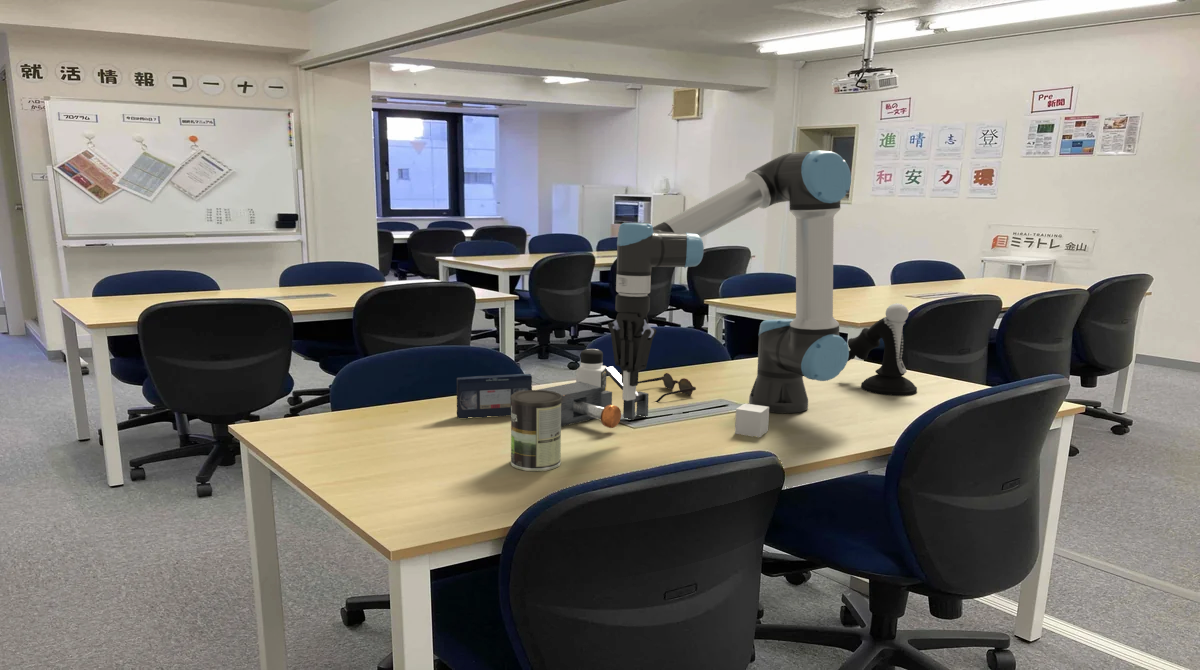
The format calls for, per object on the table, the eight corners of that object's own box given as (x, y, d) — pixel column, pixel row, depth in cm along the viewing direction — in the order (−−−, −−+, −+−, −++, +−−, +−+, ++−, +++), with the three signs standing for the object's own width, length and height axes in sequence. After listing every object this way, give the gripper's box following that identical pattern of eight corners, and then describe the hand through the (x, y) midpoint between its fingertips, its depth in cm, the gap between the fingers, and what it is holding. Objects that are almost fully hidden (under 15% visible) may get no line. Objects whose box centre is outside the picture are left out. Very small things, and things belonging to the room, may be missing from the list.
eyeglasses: (695, 398, 223) (696, 380, 222) (652, 405, 215) (653, 387, 214) (662, 387, 235) (662, 370, 234) (620, 393, 227) (620, 376, 226)
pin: (620, 425, 190) (621, 404, 189) (604, 430, 186) (605, 407, 185) (582, 414, 199) (582, 393, 198) (566, 417, 196) (566, 396, 195)
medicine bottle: (601, 396, 221) (602, 353, 219) (575, 395, 223) (576, 351, 221) (606, 390, 228) (607, 348, 226) (581, 389, 230) (581, 347, 228)
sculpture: (901, 398, 225) (909, 308, 220) (824, 383, 241) (830, 299, 237) (925, 389, 235) (933, 303, 231) (850, 376, 252) (855, 295, 248)
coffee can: (509, 472, 160) (509, 402, 158) (511, 455, 170) (510, 389, 168) (562, 471, 161) (563, 402, 159) (560, 455, 171) (561, 389, 169)
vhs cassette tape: (457, 419, 197) (457, 379, 196) (456, 416, 200) (455, 376, 198) (532, 415, 202) (532, 375, 200) (530, 412, 205) (530, 373, 203)
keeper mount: (647, 417, 202) (648, 393, 200) (631, 421, 198) (632, 397, 197) (610, 406, 211) (610, 383, 210) (594, 410, 207) (594, 386, 206)
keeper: (641, 402, 201) (644, 396, 200) (632, 404, 199) (635, 398, 198) (611, 370, 208) (614, 364, 207) (602, 372, 205) (605, 366, 204)
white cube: (760, 438, 186) (761, 412, 185) (734, 434, 189) (736, 408, 188) (767, 431, 191) (769, 406, 190) (743, 427, 194) (744, 403, 193)
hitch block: (601, 417, 201) (601, 387, 200) (557, 427, 192) (557, 396, 190) (579, 410, 207) (579, 381, 205) (536, 420, 197) (536, 389, 196)
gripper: (600, 292, 181) (596, 395, 185) (642, 298, 171) (638, 407, 175) (624, 290, 186) (620, 391, 190) (666, 296, 176) (661, 402, 180)
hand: (629, 399), depth 182 cm, fingers closed
